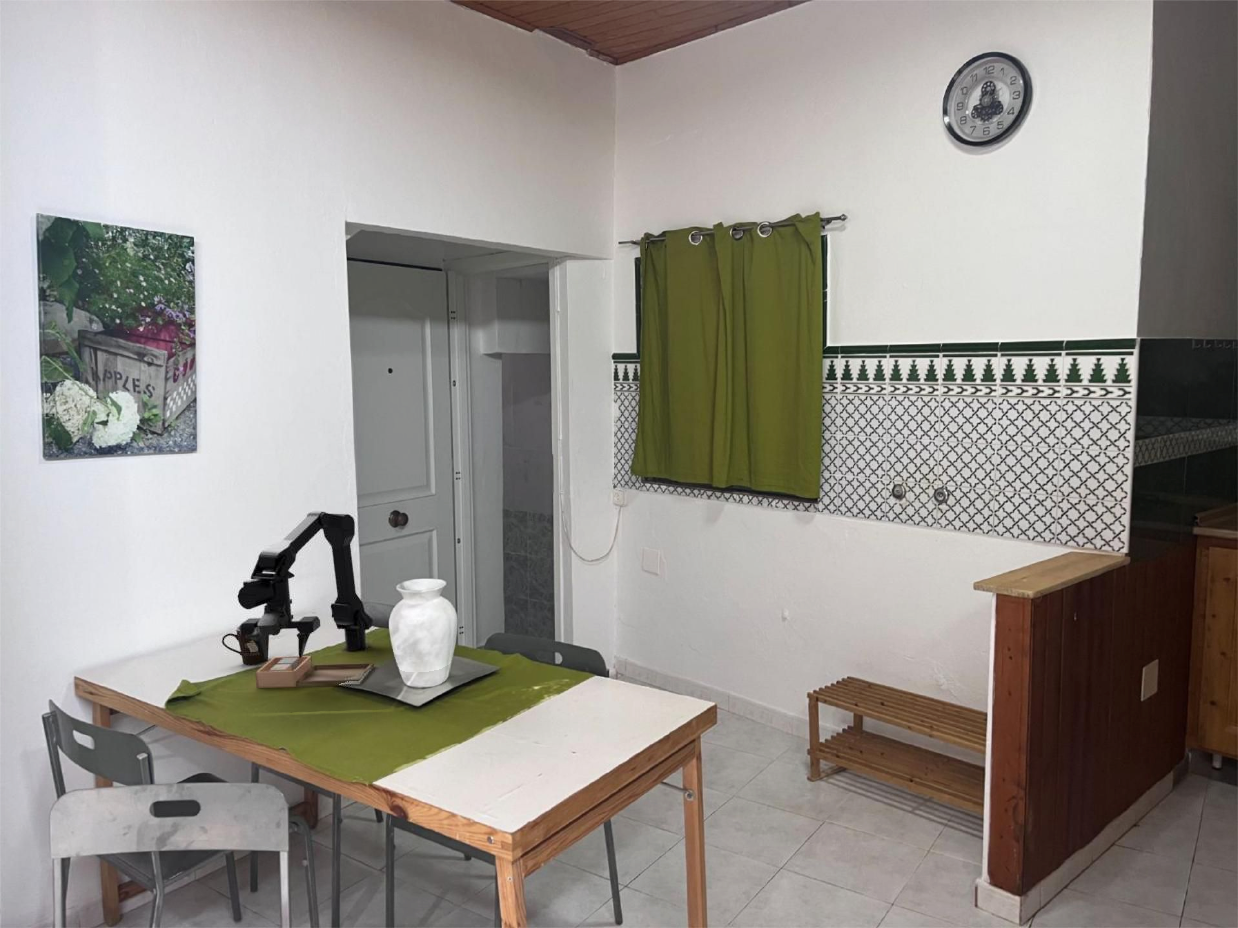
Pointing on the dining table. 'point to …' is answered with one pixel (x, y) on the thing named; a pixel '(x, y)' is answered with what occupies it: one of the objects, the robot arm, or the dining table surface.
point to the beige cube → (281, 667)
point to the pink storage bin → (281, 673)
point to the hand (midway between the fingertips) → (282, 658)
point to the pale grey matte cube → (290, 662)
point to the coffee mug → (248, 649)
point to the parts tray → (332, 674)
